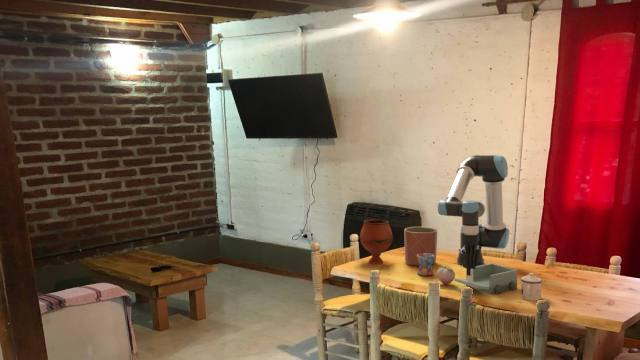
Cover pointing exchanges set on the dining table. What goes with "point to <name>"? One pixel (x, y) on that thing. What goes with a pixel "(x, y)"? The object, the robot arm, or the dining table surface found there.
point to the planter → (419, 243)
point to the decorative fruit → (445, 275)
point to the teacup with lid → (531, 287)
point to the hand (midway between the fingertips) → (470, 281)
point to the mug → (425, 264)
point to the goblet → (376, 238)
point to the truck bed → (495, 278)
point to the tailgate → (471, 284)
